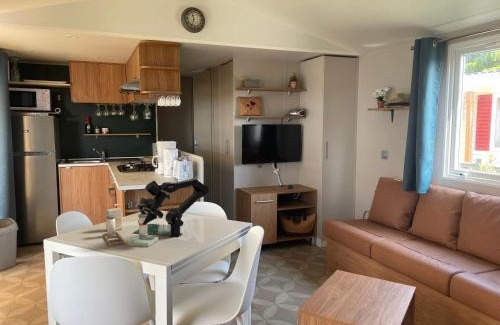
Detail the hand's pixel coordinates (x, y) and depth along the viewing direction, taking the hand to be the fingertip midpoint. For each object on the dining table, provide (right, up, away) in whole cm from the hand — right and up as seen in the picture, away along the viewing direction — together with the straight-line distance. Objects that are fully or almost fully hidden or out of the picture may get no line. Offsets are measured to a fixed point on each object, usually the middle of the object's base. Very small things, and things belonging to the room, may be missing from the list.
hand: (140, 223), depth 208 cm
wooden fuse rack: (-17, -10, +9) cm, 21 cm away
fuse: (-21, -10, +15) cm, 28 cm away
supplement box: (-25, -9, +29) cm, 39 cm away
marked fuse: (+1, -7, +2) cm, 7 cm away
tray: (+1, -11, +2) cm, 11 cm away
